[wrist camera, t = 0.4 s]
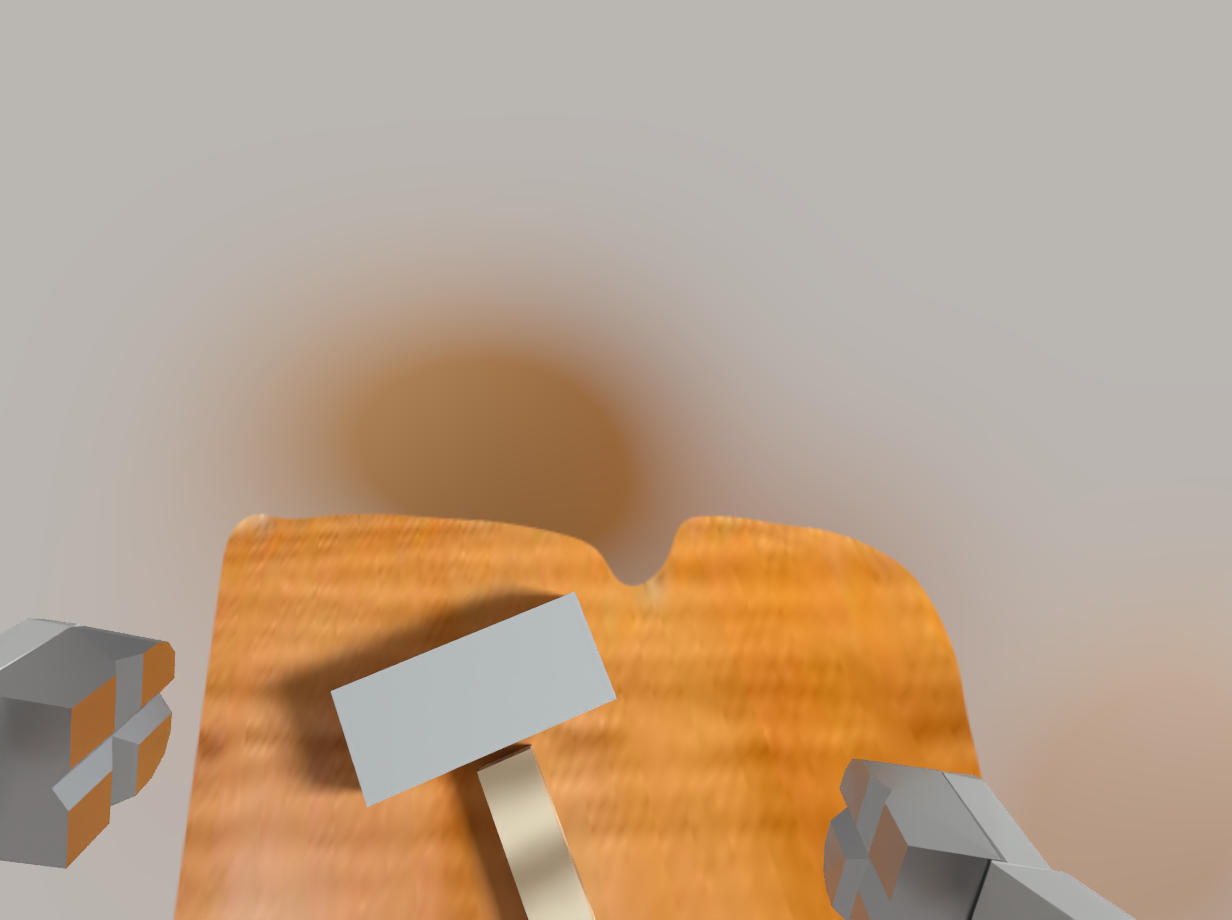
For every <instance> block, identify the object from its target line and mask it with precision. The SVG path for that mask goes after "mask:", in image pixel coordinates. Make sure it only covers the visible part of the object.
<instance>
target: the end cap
mask: <svg viewBox="0 0 1232 920" xmlns="http://www.w3.org/2000/svg"><path fill="white" fill-rule="evenodd" d="M331 694H332V697H333V701H334V704H335V707H336V710H337V713H338V716H339V720H340V723H341V726H342V729H343V732H344V735H345V739H346V742H347V745H348V748H349V751H350V754H351V758H352V761H353V764H354V767H355V770H356V773H357V777H358V780H359V783H360V786H361V789H362V792H363V796H364V799H365V802H366V805H367V807H369V806H371V805H373V804H375V803H378V802H380V801H382V800H385V799H387V798H389V797H392V796H394V795H396V794H399V793H401V792H403V791H405V790H408V789H410V788H412V787H415V786H417V785H419V784H422V783H424V782H426V781H428V780H431V779H433V778H435V777H438V776H440V775H442V774H445V773H447V772H449V771H451V770H454V769H456V768H458V767H461V766H463V765H465V764H468V763H470V762H472V761H474V760H477V759H479V758H481V757H484V756H486V755H488V754H491V753H493V752H495V751H497V750H500V749H502V748H504V747H507V746H509V745H511V744H514V743H516V742H518V741H521V740H523V739H525V738H527V737H530V736H532V735H534V734H537V733H539V732H541V731H544V730H546V729H548V728H550V727H553V726H555V725H557V724H560V723H562V722H564V721H567V720H569V719H571V718H573V717H576V716H578V715H580V714H583V713H585V712H587V711H590V710H592V709H594V708H596V707H599V706H601V705H603V704H606V703H608V702H610V701H613V700H615V699H617V698H616V695H615V693H614V690H613V688H612V685H611V683H610V680H609V678H608V675H607V673H606V670H605V667H604V665H603V662H602V660H601V657H600V655H599V652H598V650H597V647H596V645H595V642H594V639H593V637H592V634H591V632H590V629H589V627H588V624H587V622H586V619H585V617H584V614H583V611H582V609H581V606H580V604H579V601H578V599H577V596H576V594H575V592H572V593H570V594H567V595H565V596H562V597H560V598H558V599H555V600H553V601H550V602H548V603H545V604H543V605H540V606H538V607H536V608H533V609H531V610H528V611H526V612H523V613H521V614H518V615H516V616H514V617H511V618H509V619H506V620H504V621H501V622H499V623H496V624H494V625H491V626H489V627H487V628H484V629H482V630H479V631H477V632H474V633H472V634H469V635H467V636H465V637H462V638H460V639H457V640H455V641H452V642H450V643H447V644H445V645H443V646H440V647H438V648H435V649H433V650H430V651H428V652H425V653H423V654H421V655H418V656H416V657H413V658H411V659H408V660H406V661H403V662H401V663H399V664H396V665H394V666H391V667H389V668H386V669H384V670H381V671H379V672H376V673H374V674H372V675H369V676H367V677H364V678H362V679H359V680H357V681H354V682H352V683H350V684H347V685H345V686H342V687H340V688H337V689H335V690H332V691H331Z"/></svg>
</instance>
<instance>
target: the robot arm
mask: <svg viewBox="0 0 1232 920" xmlns="http://www.w3.org/2000/svg"><path fill="white" fill-rule="evenodd" d="M174 666H175V651H174V650H173V648H172V647H171V645H170V644H169V643H168V642H165V641H161V640H155V639H150V638H145V637H140V636H134V635H129V634H124V633H118V632H113V631H108V630H102V629H97V628H92V627H86V626H80V625H78V624H73V623H66V622H59V621H52V620H46V619H26V620H25V621H23V622H21V623H20V624H17V625H16V626H14V627H12V628H10V629H8V630H6V631H5V632H3V633H1V634H0V860H2V861H10V862H18V863H26V864H34V865H42V866H50V867H59V868H67V867H68V866H69V865H70V864H71V863H72V862H73V861H74V860H75V859H76V858H77V857H78V855H80V853H81V852H82V851H83V850H84V849H85V848H86V847H87V846H88V845H89V844H90V843H91V842H92V841H93V840H94V839H95V838H96V837H97V835H99V834H100V833H101V832H102V830H103V829H104V828H105V827H106V826H107V825H108V824H109V819H110V806H112V805H114V804H117V803H119V802H121V801H124V800H126V799H129V798H131V797H134V796H136V795H137V794H138V792H139V791H140V790H141V789H142V788H143V787H144V786H145V785H146V784H147V782H148V781H149V780H150V779H151V778H152V776H153V774H154V772H155V770H156V769H157V767H158V765H159V763H160V761H161V759H162V757H163V755H164V753H165V749H166V746H167V742H168V739H169V735H170V729H171V717H172V712H171V710H170V709H169V707H168V706H167V704H166V702H165V701H164V699H163V698H162V696H161V694H160V692H161V691H162V690H163V689H164V688H165V687H166V686H167V685H168V684H169V683H170V682H171V681H172V680H173V679H174ZM840 791H841V793H842V795H843V798H844V800H845V802H846V805H847V808H846V809H844V810H843V811H842V812H841V813H840V814H838V815H837V816H836V817H835V818H834V819H832V820H831V821H830V825H829V829H828V833H827V837H826V841H825V845H824V868H823V871H824V878H825V884H826V890H827V893H828V896H829V899H830V902H831V905H832V907H833V908H834V909H835V910H836V911H837V912H838V913H839V914H840V915H841V916H842V917H843V918H844V919H845V920H1136V919H1135V918H1133V917H1132V916H1130V915H1129V914H1127V913H1126V912H1124V911H1123V910H1121V909H1120V908H1118V907H1117V906H1115V905H1114V904H1112V903H1111V902H1109V901H1108V900H1106V899H1105V898H1103V897H1102V896H1100V895H1099V894H1097V893H1095V892H1094V891H1093V890H1091V889H1090V888H1088V887H1087V886H1085V885H1084V884H1082V883H1080V882H1079V881H1077V880H1076V879H1074V878H1073V877H1071V876H1070V875H1068V874H1067V873H1065V872H1059V871H1053V870H1051V868H1050V867H1049V866H1048V864H1047V863H1046V862H1045V860H1044V859H1043V858H1042V856H1041V855H1040V854H1039V853H1038V851H1037V850H1036V849H1035V847H1034V846H1033V845H1032V844H1031V842H1030V841H1029V839H1028V838H1027V837H1026V835H1025V834H1024V833H1023V832H1022V830H1021V829H1020V827H1019V826H1018V825H1017V824H1016V822H1015V821H1014V820H1013V818H1012V817H1011V816H1010V814H1009V813H1008V812H1007V810H1006V809H1005V808H1004V806H1003V805H1002V804H1001V802H1000V801H999V800H998V798H997V797H996V796H995V794H994V793H993V792H992V790H990V788H989V787H988V785H987V784H986V783H985V781H984V780H982V779H980V778H978V777H977V776H975V775H971V774H963V773H955V772H947V771H940V770H933V769H926V768H919V767H912V766H905V765H898V764H891V763H884V762H876V761H869V760H862V759H852V760H851V762H850V763H849V765H848V766H847V768H846V770H845V772H844V776H843V779H842V783H841V786H840Z"/></svg>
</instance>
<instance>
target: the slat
mask: <svg viewBox="0 0 1232 920" xmlns="http://www.w3.org/2000/svg"><path fill="white" fill-rule="evenodd" d="M477 774H478V777H479V780H480V782H481V785H482V788H483V791H484V794H485V797H486V800H487V802H488V805H489V808H490V811H491V814H492V817H493V820H494V823H495V825H496V828H497V831H498V834H499V837H500V840H501V843H502V845H503V848H504V851H505V854H506V857H507V860H508V863H509V866H510V868H511V871H512V874H513V877H514V880H515V883H516V886H517V888H518V891H519V894H520V897H521V900H522V903H523V906H524V908H525V911H526V914H527V917H528V920H596V919H595V916H594V914H593V911H592V908H591V905H590V903H589V900H588V897H587V894H586V892H585V889H584V886H583V884H582V881H581V878H580V875H579V873H578V870H577V867H576V864H575V862H574V859H573V856H572V854H571V851H570V848H569V845H568V843H567V840H566V837H565V834H564V832H563V829H562V826H561V824H560V821H559V818H558V815H557V813H556V810H555V807H554V804H553V802H552V799H551V796H550V794H549V791H548V788H547V785H546V783H545V780H544V777H543V774H542V772H541V769H540V766H539V764H538V761H537V758H536V755H535V753H534V750H533V747H532V745H530V746H527V747H525V748H523V749H520V750H518V751H516V752H514V753H511V754H509V755H507V756H504V757H502V758H500V759H498V760H495V761H493V762H491V763H488V764H486V765H484V766H482V767H481V768H480V769H479V770H478V771H477Z"/></svg>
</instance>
